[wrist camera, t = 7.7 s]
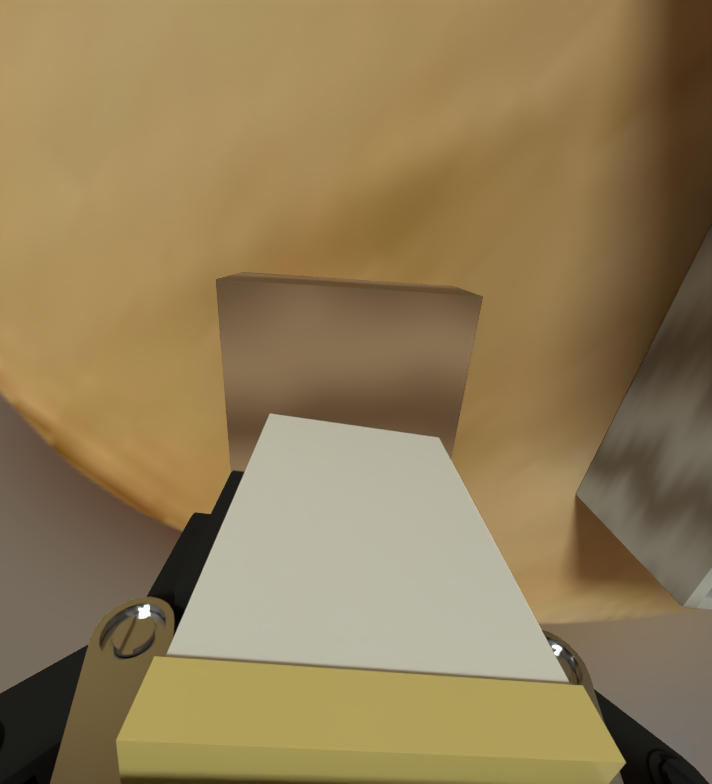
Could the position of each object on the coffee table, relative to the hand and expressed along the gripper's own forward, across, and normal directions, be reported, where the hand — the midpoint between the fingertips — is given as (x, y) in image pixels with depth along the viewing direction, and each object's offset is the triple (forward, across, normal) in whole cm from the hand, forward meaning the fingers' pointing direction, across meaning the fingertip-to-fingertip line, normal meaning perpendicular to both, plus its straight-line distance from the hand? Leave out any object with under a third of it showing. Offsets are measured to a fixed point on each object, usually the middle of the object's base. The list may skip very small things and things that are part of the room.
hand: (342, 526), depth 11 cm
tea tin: (+2, 0, 0) cm, 2 cm away
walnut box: (+13, 0, 0) cm, 13 cm away
